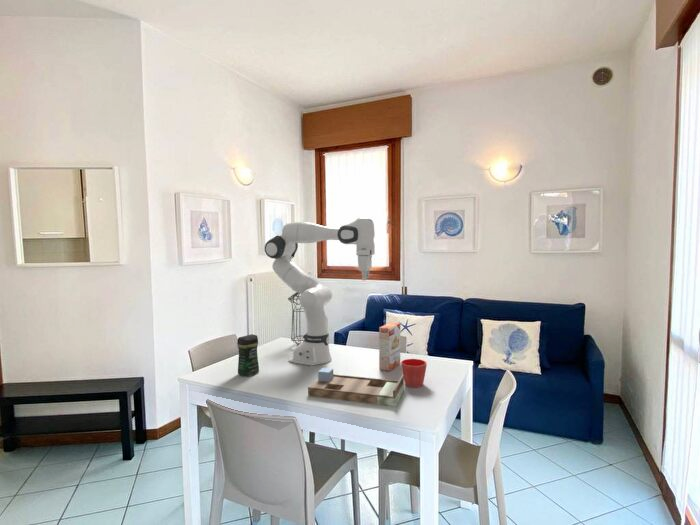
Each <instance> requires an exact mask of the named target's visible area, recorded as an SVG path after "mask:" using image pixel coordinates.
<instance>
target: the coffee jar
mask: <svg viewBox="0 0 700 525" xmlns="http://www.w3.org/2000/svg"><path fill="white" fill-rule="evenodd" d="M236 344H237V348H238V364H237V375H239V376H241V377H251V376H252V375H253V376H254V375H256V374H258V373H259V372H260V366H259V356H258V346H259V338H258V335H256V334H248V335H243V336H239V337H238V338H237V343H236Z"/></svg>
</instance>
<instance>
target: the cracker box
mask: <svg viewBox="0 0 700 525" xmlns="http://www.w3.org/2000/svg"><path fill="white" fill-rule="evenodd" d="M378 330H379V331H378V332H379V333H378V337H379V338H378V341H379V342H378V343H379V345H378V355H379V357H378V361H379V362H378V366H379V370H381V371H386V372H390V371H392V370H393V369H395V368H396V367H397V366H399V365H400V364H401V323H399V322H393V321H391V322H388V323H387V324H383V325H382V326H379V327H378Z"/></svg>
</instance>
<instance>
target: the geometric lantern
mask: <svg viewBox="0 0 700 525" xmlns="http://www.w3.org/2000/svg"><path fill="white" fill-rule="evenodd" d="M300 296H301V294H300V293H298V292H296V291H295V292H294V293H293V294H292V295H291V296H289V297H288V298H287V300H288V301H289V302H290V303H291V308H292V309H291V310H292V315H291V333H293V334H291V338H290V339H291V340H290V341H292V342H293V343H294V344H296V345H297V346H298V345H299V344H301V343H302V342H303V341H304V339H301V335H297V334H298V332H299V334H301V312H302V313H305V312H304V310H302V308H303V307H302V306H301V305H300V303H298V301H300ZM298 305H300V308H298V307H297V306H298ZM298 310H299V311H298ZM295 313H296V315H295ZM298 313H299V315H298ZM295 316H296V317H295ZM298 317H299V331H298ZM295 318H296V320H295ZM294 330H295V333H294ZM298 337H299V338H298Z"/></svg>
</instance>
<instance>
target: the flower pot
mask: <svg viewBox="0 0 700 525" xmlns="http://www.w3.org/2000/svg"><path fill="white" fill-rule="evenodd" d="M400 364H401V370H402V376H404V385H405V386H407V387H411V388H420V387H423V385H424V381H425V377H426V371H427V370H426V369H427V366H428V365H427V364H428V363H427V361H425V360H424V359H423V360H422V359H418V358H408V359H402V360H400Z"/></svg>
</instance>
